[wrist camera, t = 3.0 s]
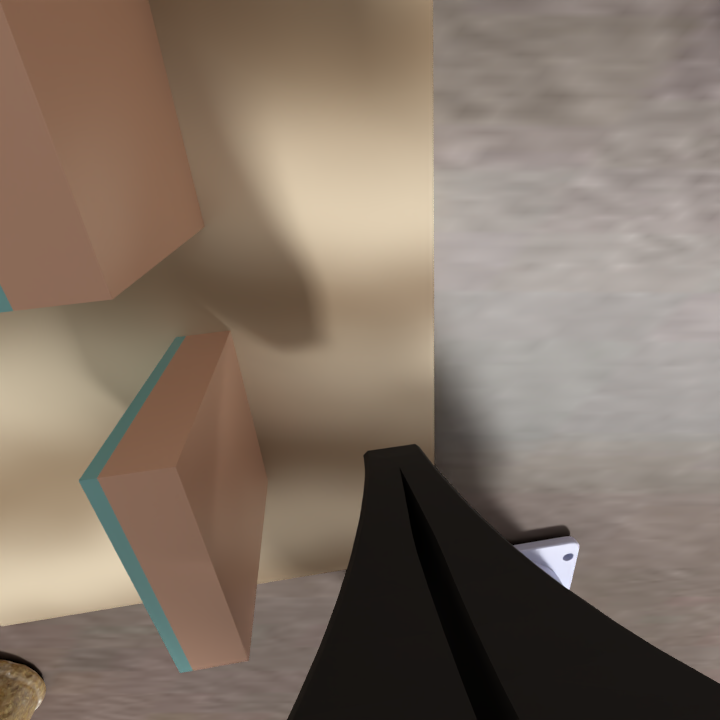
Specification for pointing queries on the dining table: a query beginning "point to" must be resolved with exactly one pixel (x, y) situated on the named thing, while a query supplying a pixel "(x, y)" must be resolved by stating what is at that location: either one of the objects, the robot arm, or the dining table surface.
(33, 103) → the tile
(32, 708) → the sprinkles bottle
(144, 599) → the tile
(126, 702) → the dining table surface
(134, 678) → the dining table surface
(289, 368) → the board
